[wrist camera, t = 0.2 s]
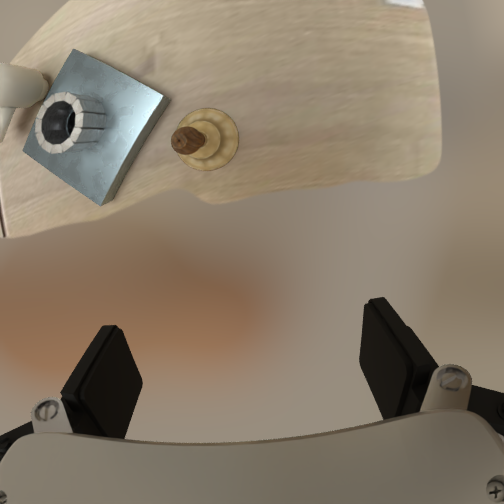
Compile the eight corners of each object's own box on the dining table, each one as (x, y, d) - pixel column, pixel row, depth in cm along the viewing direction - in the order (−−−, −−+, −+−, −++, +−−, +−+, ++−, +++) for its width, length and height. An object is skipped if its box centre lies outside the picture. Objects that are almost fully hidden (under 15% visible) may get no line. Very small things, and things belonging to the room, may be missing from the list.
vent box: (86, 54, 32) (50, 38, 23) (171, 99, 35) (148, 88, 26) (37, 148, 36) (-4, 155, 27) (112, 200, 40) (78, 218, 30)
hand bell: (226, 178, 39) (214, 202, 24) (167, 160, 38) (121, 174, 23) (247, 119, 37) (248, 104, 22) (186, 101, 36) (150, 78, 21)
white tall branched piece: (38, 67, 32) (-31, 53, 17) (60, 79, 33) (-10, 65, 18) (10, 127, 35) (-60, 134, 20) (30, 142, 36) (-42, 153, 21)
